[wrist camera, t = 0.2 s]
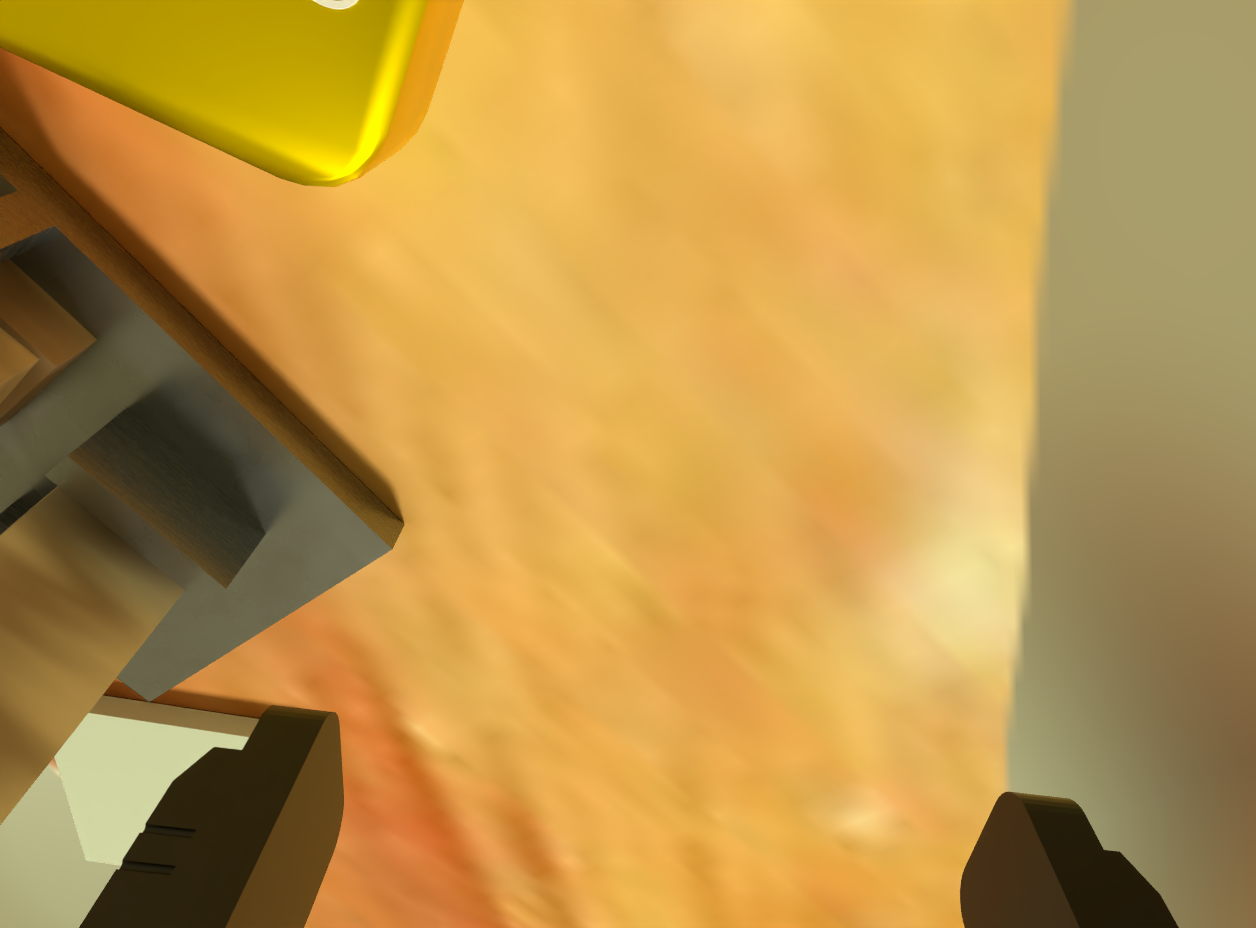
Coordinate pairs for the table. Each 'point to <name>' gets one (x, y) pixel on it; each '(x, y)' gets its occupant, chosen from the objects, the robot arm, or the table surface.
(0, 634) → the beige wooden bar
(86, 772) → the mat
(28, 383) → the offcut stack
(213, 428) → the offcut rack
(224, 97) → the copper element tile
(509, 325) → the table surface
